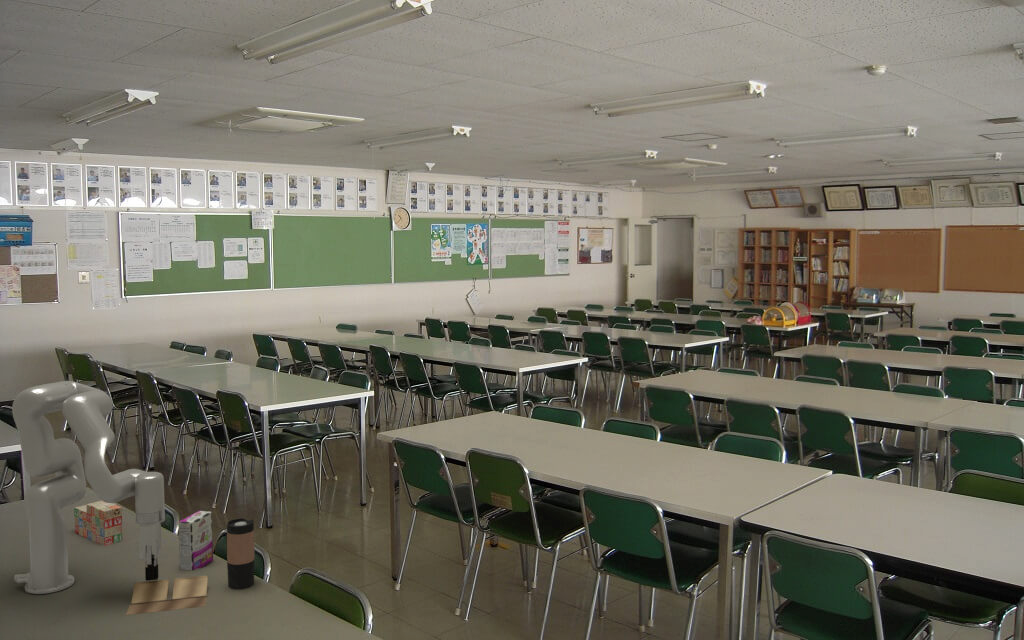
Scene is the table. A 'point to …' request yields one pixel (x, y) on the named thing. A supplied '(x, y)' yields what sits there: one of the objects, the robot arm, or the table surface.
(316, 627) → the table surface
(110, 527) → the stack of blocks
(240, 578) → the travel mug
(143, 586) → the plank
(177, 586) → the plank
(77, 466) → the robot arm
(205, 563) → the candy bar box
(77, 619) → the table surface
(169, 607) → the laid board
